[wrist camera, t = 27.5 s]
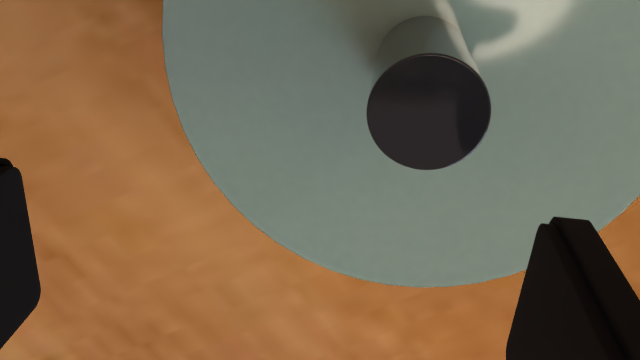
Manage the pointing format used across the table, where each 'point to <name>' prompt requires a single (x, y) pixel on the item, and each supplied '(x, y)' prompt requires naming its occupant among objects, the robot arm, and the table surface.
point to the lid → (411, 124)
